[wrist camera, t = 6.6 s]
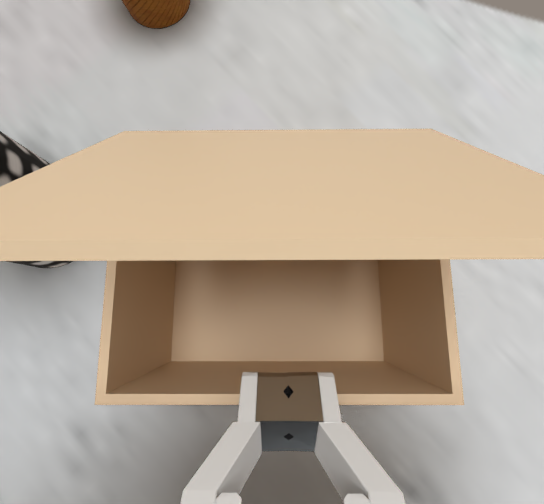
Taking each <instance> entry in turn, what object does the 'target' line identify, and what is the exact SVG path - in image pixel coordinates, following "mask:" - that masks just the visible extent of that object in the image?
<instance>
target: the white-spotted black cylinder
mask: <svg viewBox="0 0 544 504" xmlns="http://www.w3.org/2000/svg"><path fill="white" fill-rule="evenodd" d="M48 165H50V163H48V162H47V161H45V160H44V159H42V158H40V157H39V156H37V155H36V154H34V153H33V152H31V151H30V150H28V149H27V148H25V147H23V146H22V145H20V144H19V143H17V142H16V141H14V140H13V139H11V138H10V137H8V136H6V135H5V134H3V133H2V132H0V187H1V186H3V185H5V184H7V183H9V182H12V181H14V180H16V179H18V178H21V177H23V176H25V175H27V174H30V173H32V172H34V171H36V170H39V169H41V168H43V167H45V166H48ZM7 262H13V263H18V264H24V265H29V266H35V267H41V268H53V267H59V266H62V265H65V264H68V263H70V262H72V261H7Z"/></svg>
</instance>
